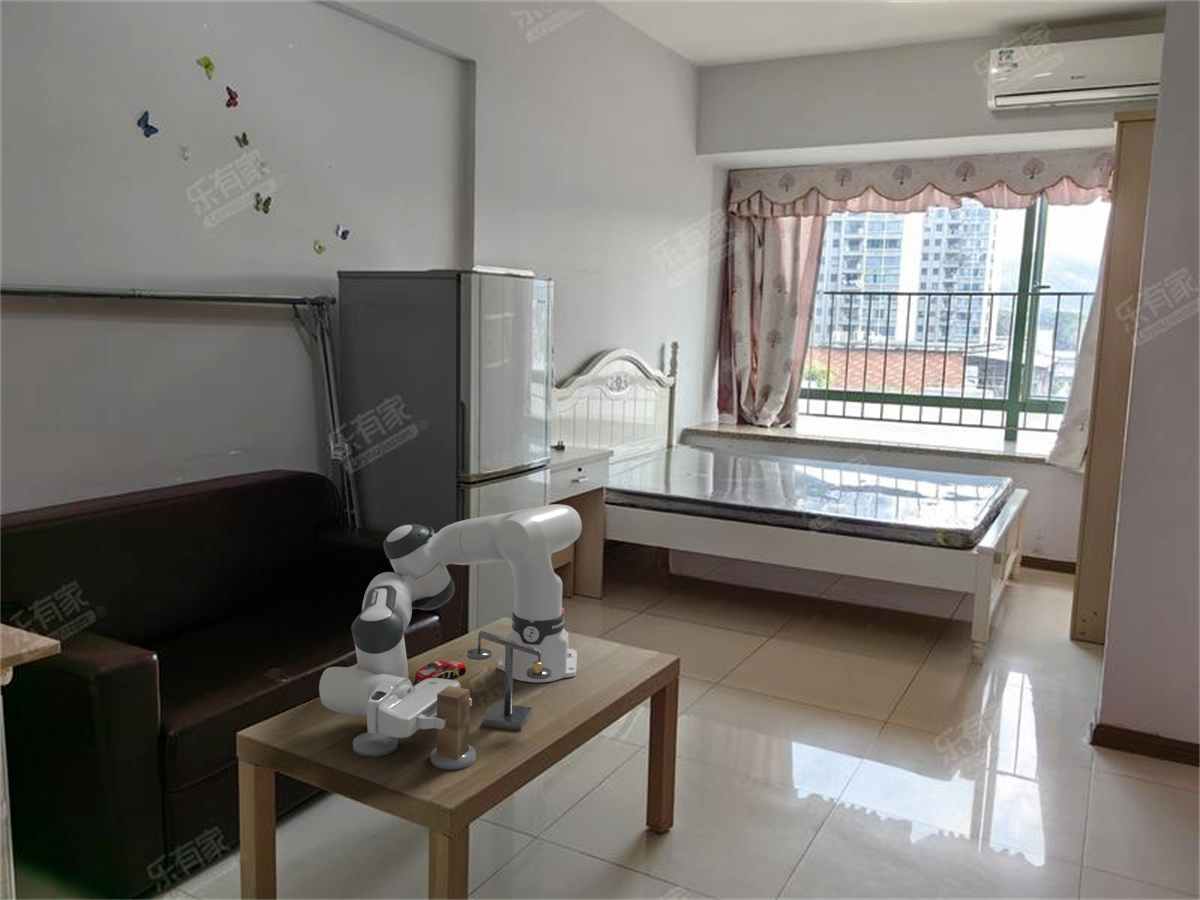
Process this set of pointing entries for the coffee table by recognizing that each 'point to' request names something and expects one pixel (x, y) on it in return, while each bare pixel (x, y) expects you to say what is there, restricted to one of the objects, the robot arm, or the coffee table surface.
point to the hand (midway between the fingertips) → (457, 713)
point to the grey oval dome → (374, 744)
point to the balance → (509, 682)
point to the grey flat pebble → (451, 763)
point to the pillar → (453, 722)
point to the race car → (441, 670)
